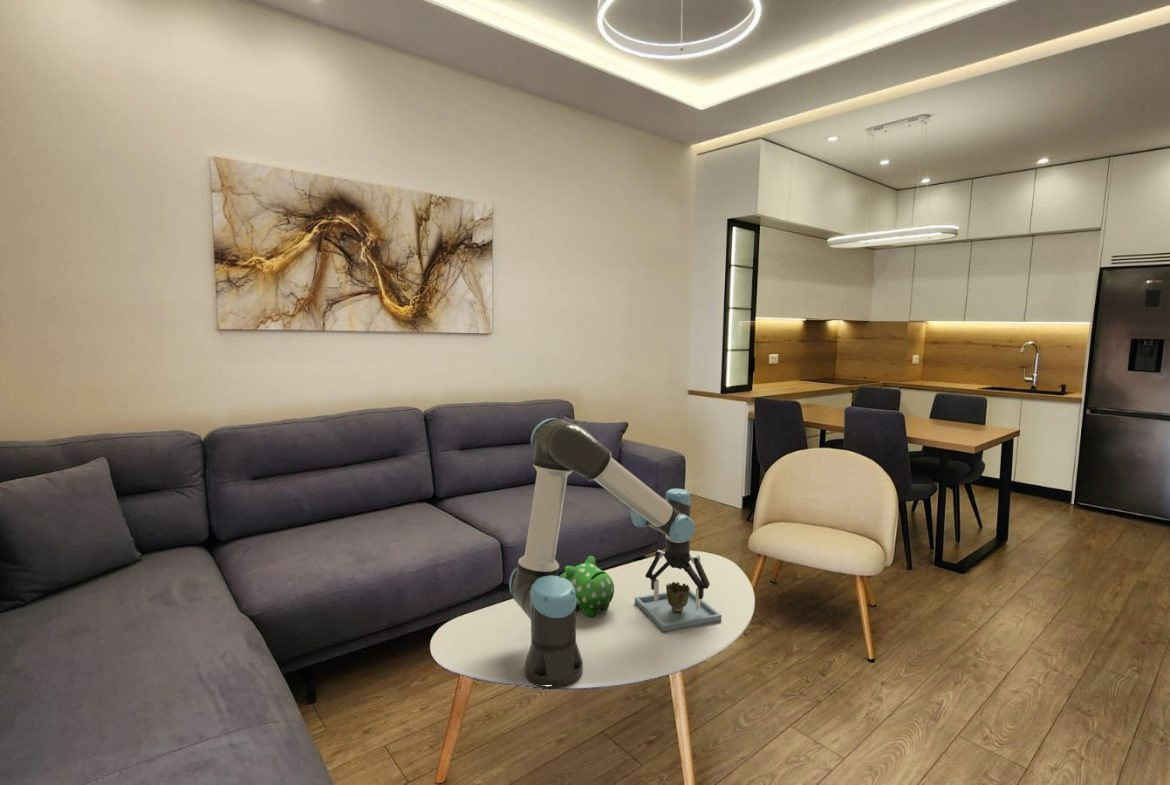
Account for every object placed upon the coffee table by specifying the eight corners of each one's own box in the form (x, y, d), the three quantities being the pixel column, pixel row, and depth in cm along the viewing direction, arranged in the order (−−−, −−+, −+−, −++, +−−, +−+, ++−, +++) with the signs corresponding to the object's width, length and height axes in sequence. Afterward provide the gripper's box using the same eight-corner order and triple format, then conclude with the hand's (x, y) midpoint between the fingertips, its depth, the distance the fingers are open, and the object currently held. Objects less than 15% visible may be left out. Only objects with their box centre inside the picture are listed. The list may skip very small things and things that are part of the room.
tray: (663, 632, 170) (663, 626, 170) (634, 603, 189) (634, 597, 188) (721, 621, 177) (721, 615, 176) (688, 594, 195) (688, 588, 195)
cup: (661, 612, 181) (662, 588, 180) (669, 603, 187) (670, 580, 187) (684, 618, 177) (685, 593, 177) (691, 609, 184) (692, 584, 183)
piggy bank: (580, 593, 196) (580, 550, 195) (622, 609, 185) (623, 564, 183) (551, 607, 186) (550, 563, 184) (594, 626, 174) (594, 578, 173)
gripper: (720, 540, 178) (718, 606, 180) (644, 529, 189) (643, 591, 191) (714, 548, 172) (713, 616, 174) (636, 536, 182) (635, 600, 184)
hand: (676, 603), depth 182 cm, fingers open, 13 cm apart
